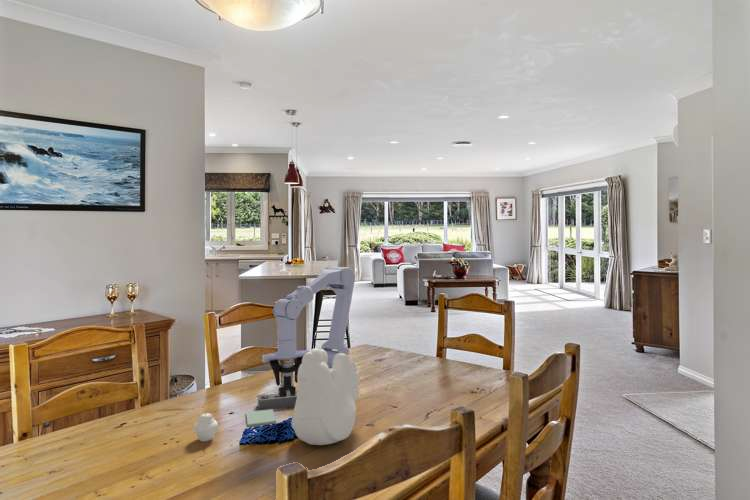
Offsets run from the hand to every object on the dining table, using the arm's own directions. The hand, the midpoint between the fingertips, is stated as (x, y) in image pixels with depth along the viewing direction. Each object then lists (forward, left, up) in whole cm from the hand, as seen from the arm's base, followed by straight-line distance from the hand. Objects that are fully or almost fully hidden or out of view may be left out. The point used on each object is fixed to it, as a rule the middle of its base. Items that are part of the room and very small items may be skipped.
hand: (287, 383), depth 141 cm
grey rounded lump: (+23, +10, -10) cm, 27 cm away
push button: (+1, 0, -4) cm, 4 cm away
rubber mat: (+8, 0, -10) cm, 13 cm away
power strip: (-1, -9, -10) cm, 14 cm away
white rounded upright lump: (-10, +19, -10) cm, 24 cm away
